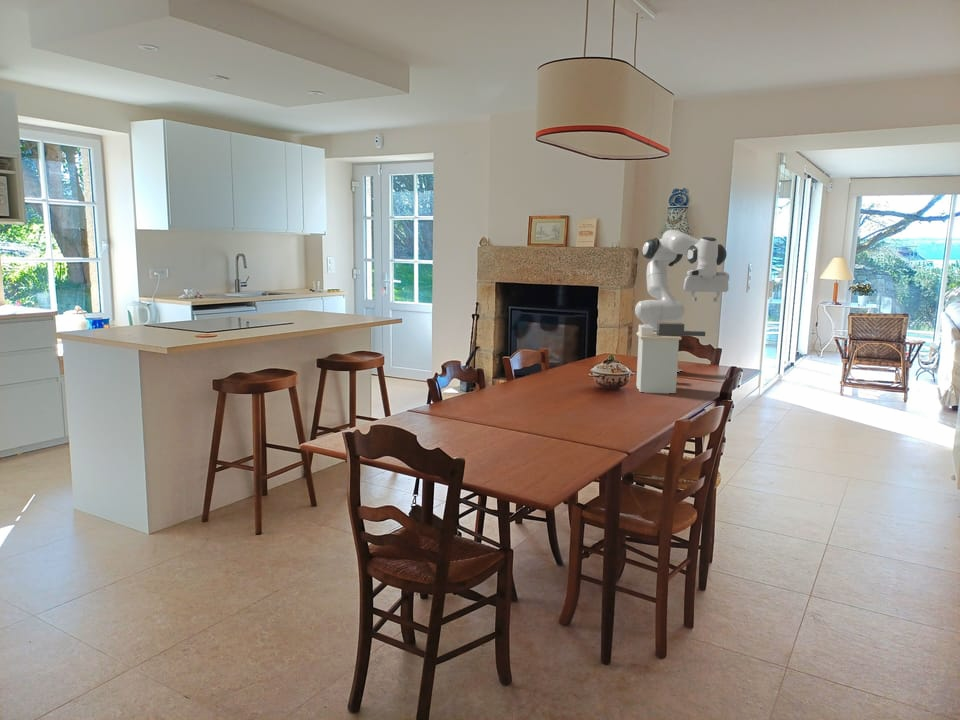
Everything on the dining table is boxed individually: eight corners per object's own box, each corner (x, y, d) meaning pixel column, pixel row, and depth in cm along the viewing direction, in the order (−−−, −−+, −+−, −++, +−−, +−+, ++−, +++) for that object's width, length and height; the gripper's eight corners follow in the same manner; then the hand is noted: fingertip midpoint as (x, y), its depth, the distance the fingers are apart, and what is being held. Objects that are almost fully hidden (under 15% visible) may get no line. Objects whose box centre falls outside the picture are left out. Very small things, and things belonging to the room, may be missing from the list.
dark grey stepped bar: (702, 334, 317) (703, 323, 317) (706, 336, 311) (707, 324, 310) (651, 333, 320) (651, 322, 319) (653, 335, 313) (653, 323, 312)
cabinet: (671, 386, 328) (674, 333, 324) (678, 394, 311) (681, 337, 306) (633, 385, 330) (636, 332, 326) (638, 392, 312) (641, 336, 308)
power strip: (649, 333, 322) (649, 324, 322) (652, 336, 311) (652, 327, 310) (638, 332, 323) (638, 324, 322) (641, 335, 311) (641, 326, 311)
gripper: (727, 272, 323) (725, 301, 325) (683, 271, 325) (682, 300, 327) (731, 272, 317) (729, 302, 319) (686, 271, 319) (684, 301, 321)
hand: (704, 301), depth 323 cm, fingers open, 8 cm apart
